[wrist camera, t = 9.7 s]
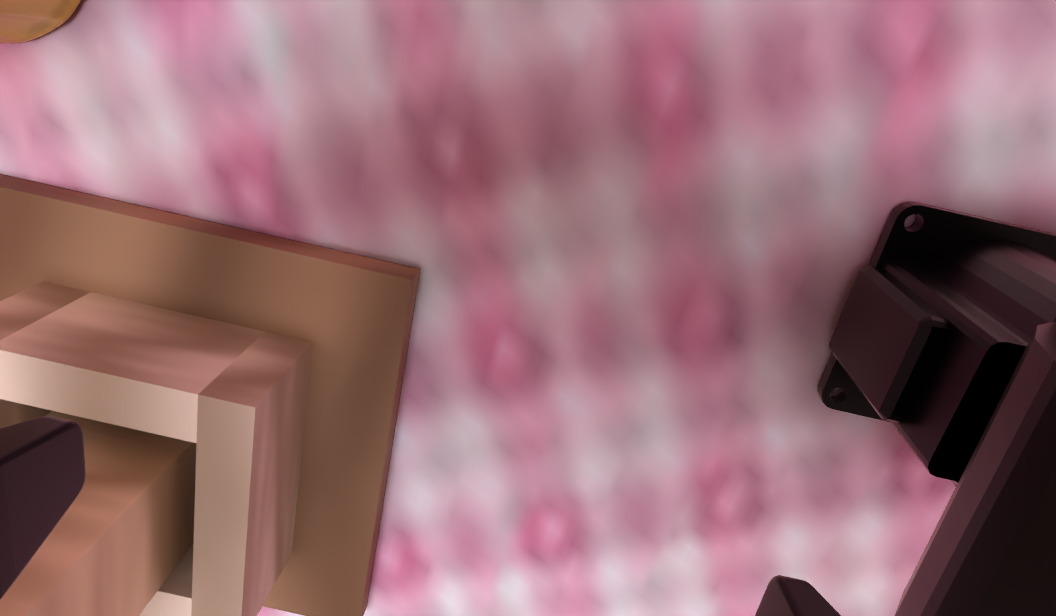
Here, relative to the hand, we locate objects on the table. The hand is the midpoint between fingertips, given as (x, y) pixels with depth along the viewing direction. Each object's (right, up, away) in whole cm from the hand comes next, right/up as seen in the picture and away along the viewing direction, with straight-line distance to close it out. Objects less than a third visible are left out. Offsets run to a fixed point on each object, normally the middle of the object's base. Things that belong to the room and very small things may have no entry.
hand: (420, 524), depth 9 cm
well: (-10, -1, +15) cm, 18 cm away
